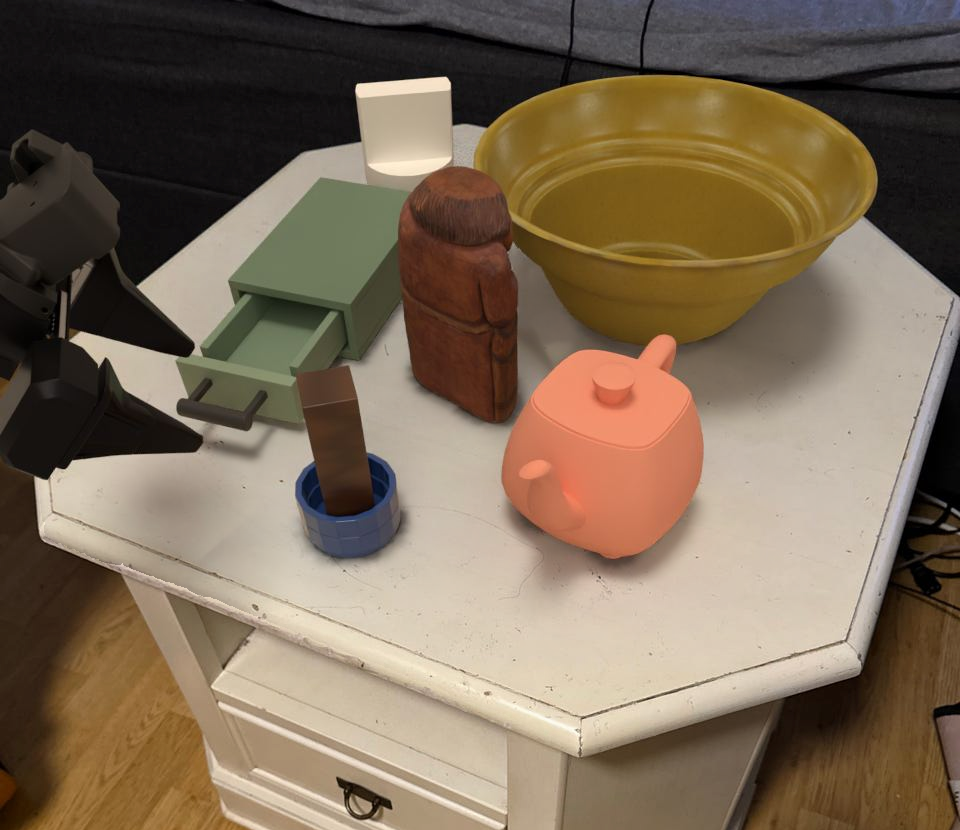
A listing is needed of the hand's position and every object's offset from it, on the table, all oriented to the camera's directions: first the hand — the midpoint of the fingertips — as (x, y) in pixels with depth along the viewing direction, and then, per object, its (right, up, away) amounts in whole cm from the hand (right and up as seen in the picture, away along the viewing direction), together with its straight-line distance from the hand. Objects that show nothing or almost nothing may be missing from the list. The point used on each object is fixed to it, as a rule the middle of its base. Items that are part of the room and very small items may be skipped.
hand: (195, 395), depth 53 cm
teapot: (+26, -5, +12) cm, 29 cm away
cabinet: (+4, +18, +30) cm, 35 cm away
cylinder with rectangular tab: (+10, +30, +38) cm, 50 cm away
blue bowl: (+8, -6, +12) cm, 16 cm away
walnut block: (+8, -6, +12) cm, 15 cm away
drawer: (0, +9, +22) cm, 24 cm away
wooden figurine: (+16, +7, +21) cm, 28 cm away
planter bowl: (+33, +17, +28) cm, 46 cm away
